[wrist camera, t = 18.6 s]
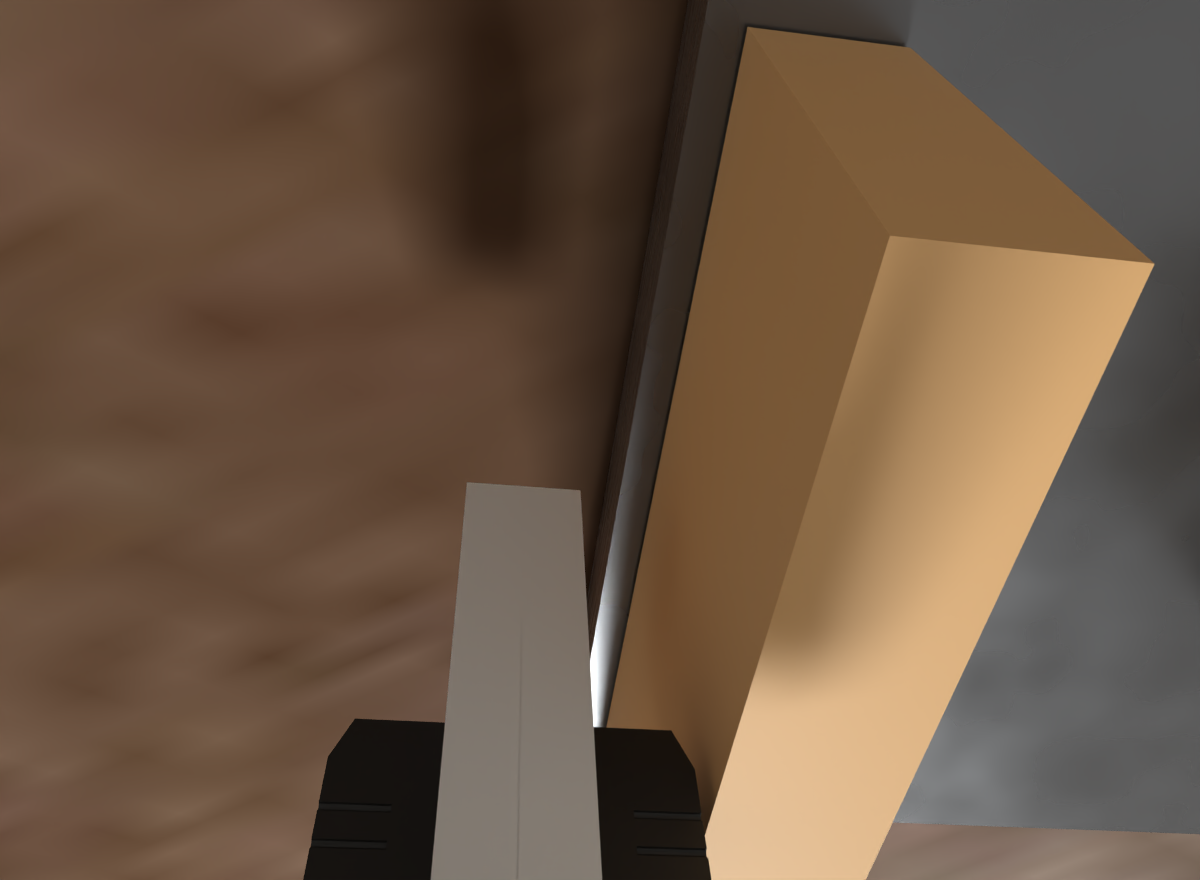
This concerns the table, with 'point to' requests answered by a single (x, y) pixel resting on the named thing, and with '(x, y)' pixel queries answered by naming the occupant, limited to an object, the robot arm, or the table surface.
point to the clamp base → (1096, 453)
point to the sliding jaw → (854, 441)
